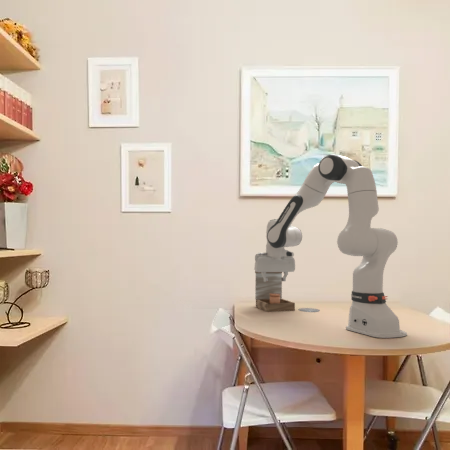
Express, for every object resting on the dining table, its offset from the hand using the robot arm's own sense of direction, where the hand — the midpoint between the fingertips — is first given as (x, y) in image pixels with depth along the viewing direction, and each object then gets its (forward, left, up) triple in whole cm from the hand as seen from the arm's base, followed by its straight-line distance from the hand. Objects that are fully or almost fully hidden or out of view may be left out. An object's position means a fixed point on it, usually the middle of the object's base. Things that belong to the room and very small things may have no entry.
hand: (274, 281), depth 199 cm
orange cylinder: (0, 0, -13) cm, 13 cm away
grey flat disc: (-8, -14, -14) cm, 21 cm away
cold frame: (0, 0, -14) cm, 14 cm away
